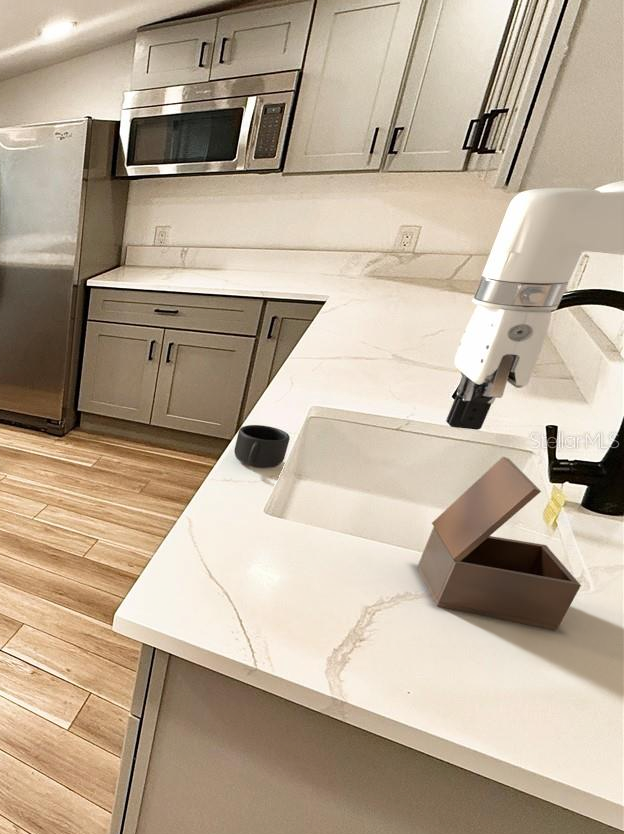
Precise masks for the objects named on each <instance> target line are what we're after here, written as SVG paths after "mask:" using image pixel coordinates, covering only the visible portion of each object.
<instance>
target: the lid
mask: <svg viewBox="0 0 624 834" xmlns="http://www.w3.org/2000/svg"><path fill="white" fill-rule="evenodd" d="M541 492H542V490H541V489H540V488H539V487H538V486H537V485H536V484H534V482H533V481H532V480H531V479H530V478H529V477H528V476H527V475H526V474H525V473H524V472H523V471H522V470H521V469H520V468H519V467H518V466H517V465H516V464H515V463H514V462H513V461H512V460H511V459H510V458H508V457H505V456H502V457H501V458H499V460H498V461H496V463H494V464H493V465H492V466H491V467H490V468H488V470H487V471H485V473H483V475H481V476H480V477H479V479H477V480H476V481H475V482H474V483H473V484H472V485H471V486H469V487H468V488H467V490H465V491H464V492H463V493H462V494H461V495H460V496H459V497H458V498H457V499H456V500H455V501H453V503H451V504H450V505H449V506H448V507H447V508H446V509H445V510H444V511H443V512H442V513H441V514H440V515H438V517H436V518H435V520H433V521H432V522H431V525H432V526H433V527H434V528H435V529H436V531H437V533H438V534H439V536H440V537H441V539H442V541H443V542H444V544H445V545H446V547H447V549H448V550H449V552H450V554H451V555H452V557H453V558H454V559H455V560H457V561H461V560H462V559H464V558H465V557H466V556H467V555H468V554H469V553H471V552H472V551H473V550H474V549H475V548H476V547H478V546H479V545H480V544H481V543H482V542H483V541H484V540H486V539H487V538H488V537H489V536H492V535H493V534H494V533H495V532H497V530H499V529H500V528H501V527H502V526H504V524H505V523H507V522H508V521H509V520H510V519H511V518H512V517H514V516H515V515H516V514H518V512H520V511H521V510H522V509H523V508H524V507H525V506H526V505H528V504H529V503H530V502H531V501H532V500H534V498H536V497H537V496H538V495H539V494H540V493H541Z"/></svg>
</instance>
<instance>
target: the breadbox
mask: <svg viewBox="0 0 624 834" xmlns="http://www.w3.org/2000/svg"><path fill="white" fill-rule="evenodd" d="M416 568H417V570H418V573H419V574H420V576H421V578H422V580H423V582H424V583H425V586H426V587H427V589H428V592H429V593H430V595H431V597H432V599H433V602H434V603H435V605H436V606H437V607H440V608H446V609H449V610H454V611H461V612H464V613H469V614H474V615H479V616H483V617H484V616H485V617H489V618H494V619H498V620H503V621H508V622H512V623H513V622H514V623H518V624H524V625H528V626H533V627H537V628H541V629H542V628H543V629H549V630H553V631H558V629H559V627H560V625H561V623H562V621H563V619H564V617H565V616H566V614H567V612H568V610H569V608H570V606H571V605H572V603H573V601H574V599H575V597H576V596H577V594H578V593H579V590H580V588H581V586H582V585H581V584H580V582H579V581H578V580H577V579H576V578H575V577H574V576H573V574H572V573H571V572H570V571H569V570H568V569H567V567H566V566H565V565H564V563H562V561H560V559H559V558H558V557H557V556H556V555H555V554H554V552H553V551H552V550H551V549H550V548H549V546H548V545H547V544H542V543H536V542H530V541H523V540H518V539H517V540H516V539H511V538H505V537H499V536H494V535H493V536H492V535H490V536H489V537H488V538H487V539H486V540H484V541H483V542H482V543H481V544H480V545H479V546H478V547H476V548H475V549H474V550H473V551H472V552H471V553H469V554H468V555H467V556H466V557H465V558H464V559H462V560H461V561H457V560H455V559H454V558H453V557H452V555H451V554H450V552H449V550H448V549H447V547H446V545H445V544H444V542H443V541H442V539H441V537H440V536H439V534H438V533H437V531H436V529H435V528H434V526H433V527H432V530H431V532H430V535H429V537H428V540H427V542H426V545H425V547H424V549H423V552H422V554H421V557H420V559H419V561H418V564H417V567H416Z"/></svg>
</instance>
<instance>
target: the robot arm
mask: <svg viewBox="0 0 624 834" xmlns="http://www.w3.org/2000/svg"><path fill="white" fill-rule="evenodd" d="M586 252H589V253H590V252H591V253H601V254H610V255H619V256H624V180H620V181H619V180H618V181H615V182H610V183H607V184H605V185H602V186H599V187H596V188H595V189H594V188H585V187H546V188H545V187H544V188H532V189H528V190H524V191H522V192H518V194H516V195H515V196H514V197H513V199H511V201H510V202H509V205H508V207H507V209H506V212H505V214H504V216H503V220H502V223H501V225H500V228H499V230H498V233H497V236H496V238H495V240H494V243H493V245H492V248H491V251H490V253H489V256H488V258H487V260H486V264H485V266H484V269H483V271H482V274H481V277H480V279H479V281H478V284H477V287H476V290H475V292H474V295H473V298H472V300H471V303H473V304H474V305H476V307H475V309H474V311H473V313H472V315H471V318H470V320H469V322H468V324H467V326H466V328H465V330H464V332H463V334H462V338H461V340H460V342H459V344H458V347H457V351H456V353H455V357H454V360H453V361H454V363H453V364H454V366H455V368H456V369H458V370H459V371H460V374H461V378H460V381H459V384H458V387H457V390H456V396H455V397H454V399H453V402H452V405H451V407H450V410H449V412H448V415H447V417H446V419H445V422H446V423H447V424H448V425H449V426H450V427H451V428H457V429H466V430H475V431H476V430H477V431H479V430H481V429H482V427H483V425H484V423H485V420H486V418H487V416H488V413H489V411H490V409H491V406H492V405H493V403H494V402H495V401H496V398H497V399H501V398H502V397H503V396H504V393H505V389H506V386H507V384H508V383H509V384H510V385H511V386H513V387H514V388H516V389H522V388H525V387H527V386H528V385H529V383H530V380H531V378H532V375H533V373H534V370H535V368H536V366H537V363H538V360H539V358H540V354H541V352H542V350H543V346H544V344H545V340H546V337H547V335H548V330H549V326H550V322H551V317H552V311H555V310H557V309H558V307H559V306H560V303H561V301H562V298H563V296H564V294H565V292H566V290H567V287H568V285H569V282H570V280H571V279H572V277H573V274H574V273H575V272H574V271H575V269H576V267H577V265H578V262H579V260H580V258H581V256H582V253H586Z"/></svg>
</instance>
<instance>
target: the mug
mask: <svg viewBox="0 0 624 834" xmlns="http://www.w3.org/2000/svg"><path fill="white" fill-rule="evenodd" d="M290 438H291V437H290V435H289V434H288V433H287V432H286V431H284V430H282V429H279V428H277V427H273V426H268V425H261V424H250V425H244V426H241V427H240V428H239V429H238V432H237V437H236V441H235V445H234V451H233V452H234V456H235V458H236V459H237V461H239V462H241V463H243V464H244V465H247V466H249V467H253V468H258V469H267V468H269V469H271V468H275V467H278V466H279V465H281V464H282V463H283V462H284V460H285V458H286V455H287V450H288V447H289V443H290V440H291V439H290Z"/></svg>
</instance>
